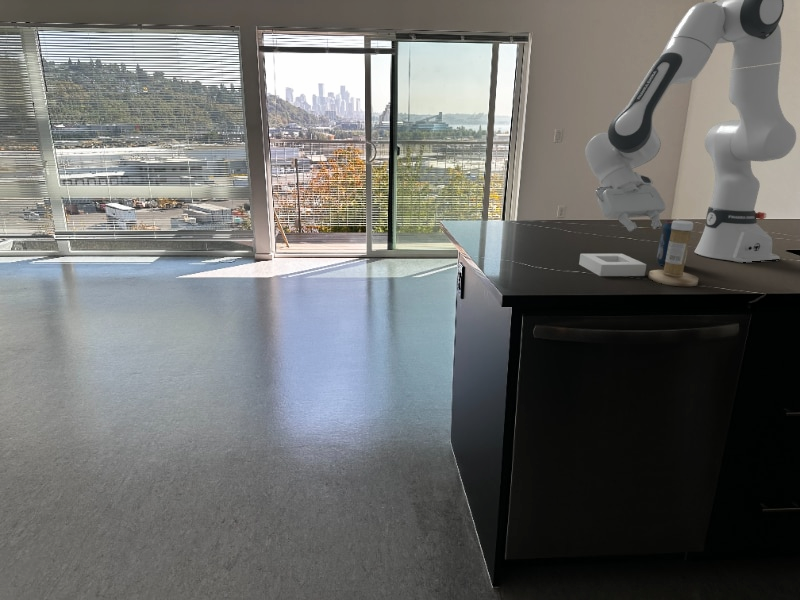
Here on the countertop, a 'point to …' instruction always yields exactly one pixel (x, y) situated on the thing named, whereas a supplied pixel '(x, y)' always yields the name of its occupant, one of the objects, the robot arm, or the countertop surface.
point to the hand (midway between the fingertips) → (646, 228)
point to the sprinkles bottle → (677, 248)
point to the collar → (612, 265)
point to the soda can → (664, 243)
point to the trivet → (673, 279)
